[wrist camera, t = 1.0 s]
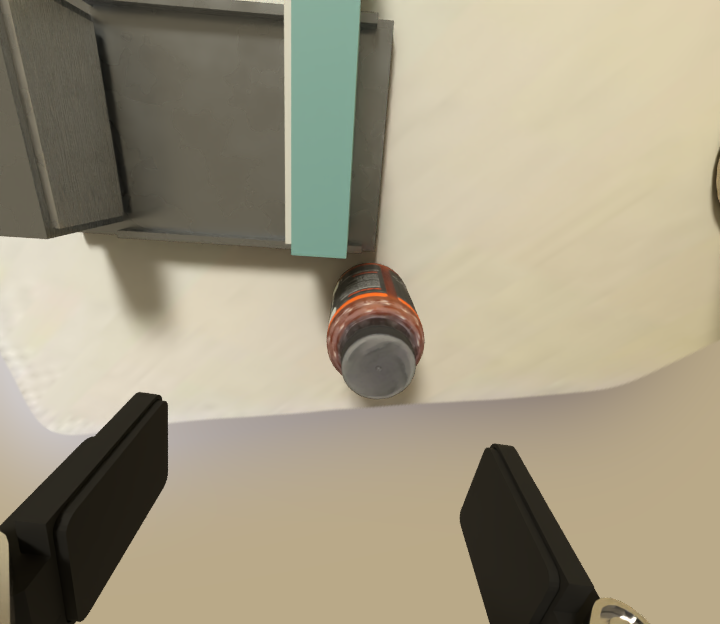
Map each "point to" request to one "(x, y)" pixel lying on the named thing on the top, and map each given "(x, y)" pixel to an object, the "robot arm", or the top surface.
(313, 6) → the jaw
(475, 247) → the top surface
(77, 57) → the vise
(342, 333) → the supplement bottle
